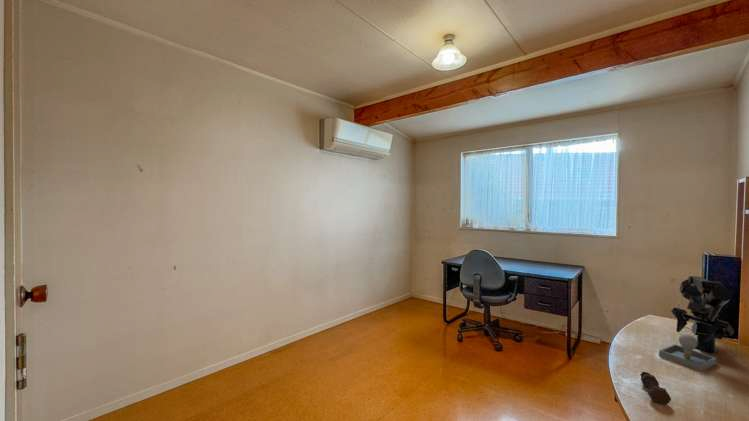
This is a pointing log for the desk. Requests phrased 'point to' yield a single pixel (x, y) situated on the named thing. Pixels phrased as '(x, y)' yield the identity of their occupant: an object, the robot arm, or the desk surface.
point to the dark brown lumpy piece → (655, 389)
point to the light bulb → (687, 344)
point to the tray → (695, 362)
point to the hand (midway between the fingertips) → (690, 336)
